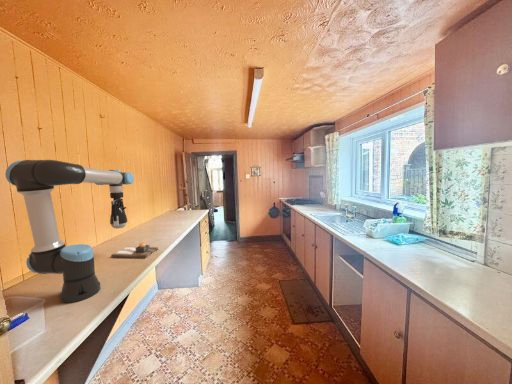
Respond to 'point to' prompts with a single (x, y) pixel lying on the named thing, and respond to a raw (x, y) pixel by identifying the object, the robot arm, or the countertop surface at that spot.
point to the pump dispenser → (120, 218)
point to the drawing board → (135, 252)
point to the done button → (142, 245)
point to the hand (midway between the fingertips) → (119, 223)
